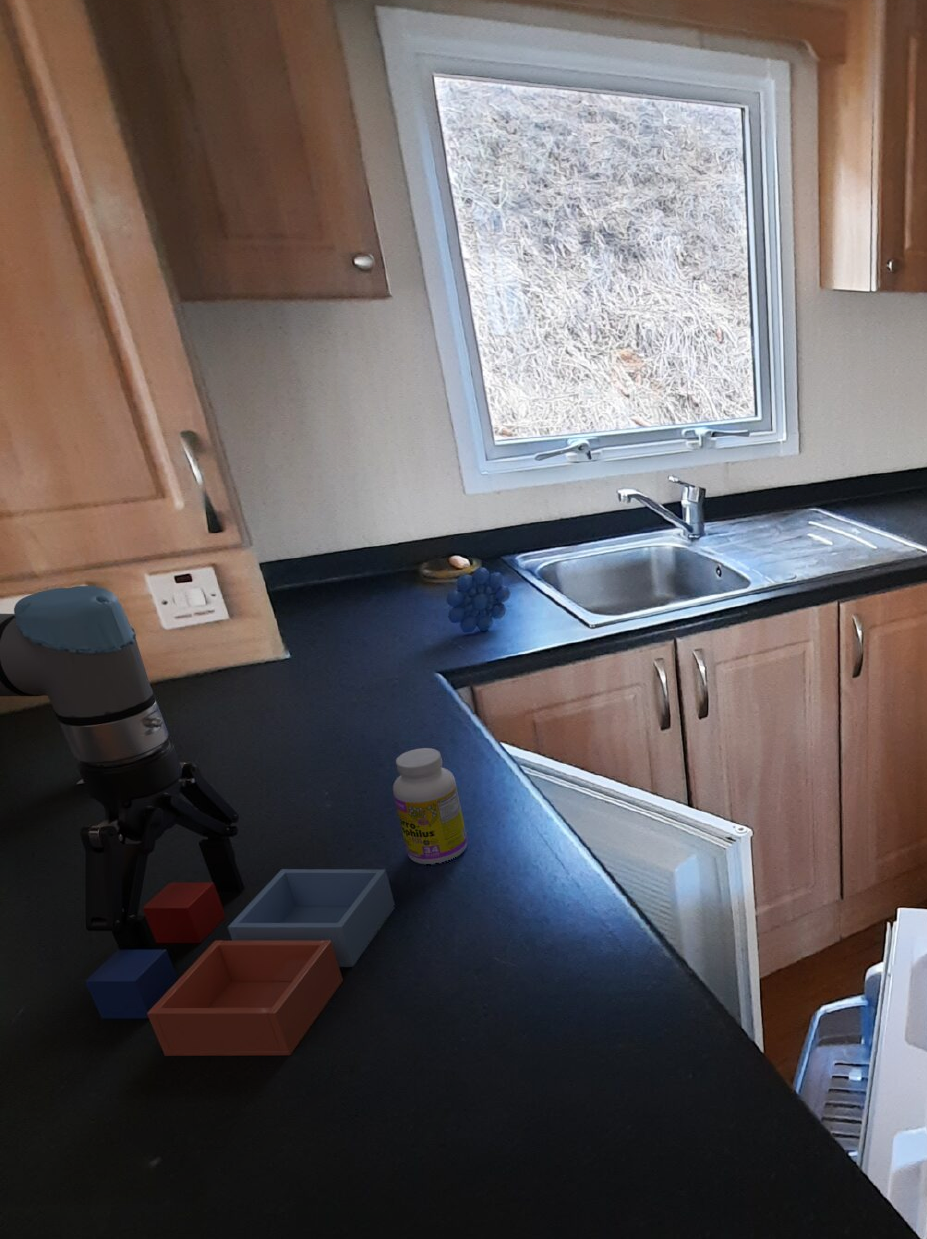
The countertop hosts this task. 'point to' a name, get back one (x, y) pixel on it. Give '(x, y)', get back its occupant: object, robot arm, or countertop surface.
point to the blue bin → (319, 909)
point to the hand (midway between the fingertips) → (193, 928)
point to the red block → (184, 912)
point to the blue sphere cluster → (478, 600)
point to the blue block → (131, 983)
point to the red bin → (247, 999)
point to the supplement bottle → (428, 807)
